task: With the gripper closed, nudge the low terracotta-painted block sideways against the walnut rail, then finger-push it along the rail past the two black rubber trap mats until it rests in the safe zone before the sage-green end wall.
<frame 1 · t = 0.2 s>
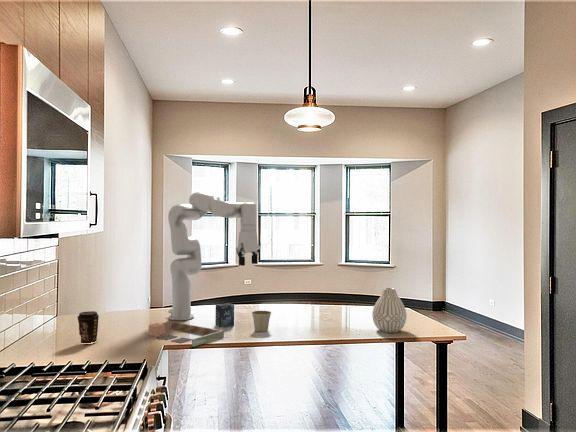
hand: (248, 264, 239), 31 cm above the worktop, fingers open, 9 cm apart
trap mats: (181, 336, 226), on the worktop
shallow rectangular tray: (181, 336, 226), on the worktop
block: (156, 334, 230), on the worktop
vase: (389, 331, 239), on the worktop
coffee cup: (88, 343, 214), on the worktop
box: (224, 326, 248), on the worktop
flower pot: (261, 331, 238), on the worktop
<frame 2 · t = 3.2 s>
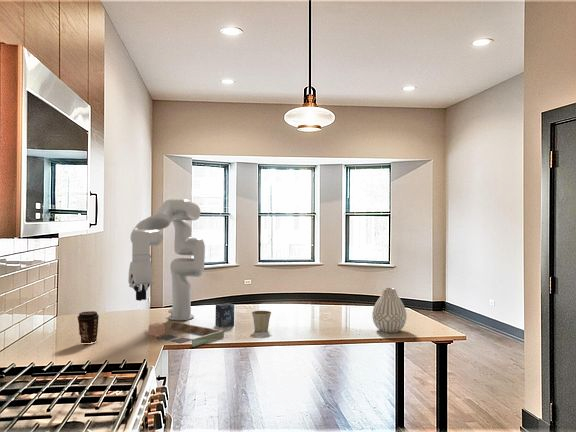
hand: (141, 299, 223), 17 cm above the worktop, fingers closed
nothing on the worktop moved.
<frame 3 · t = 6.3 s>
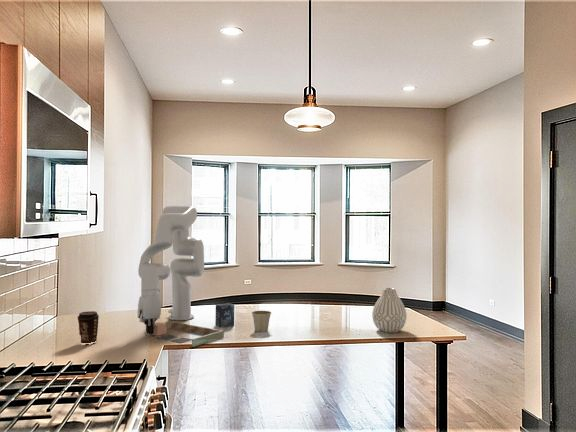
hand: (149, 333, 227), 1 cm above the worktop, fingers closed
block: (158, 333, 231), on the worktop, touching gripper
everything else where it was.
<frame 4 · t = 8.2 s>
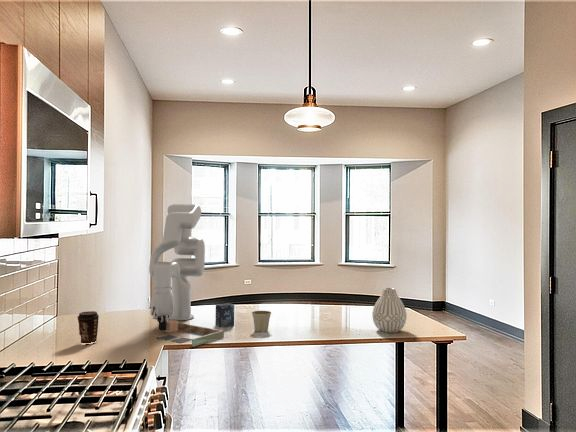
hand: (162, 330, 233), 1 cm above the worktop, fingers closed
block: (170, 330, 237), on the worktop, touching gripper
everything else where it was.
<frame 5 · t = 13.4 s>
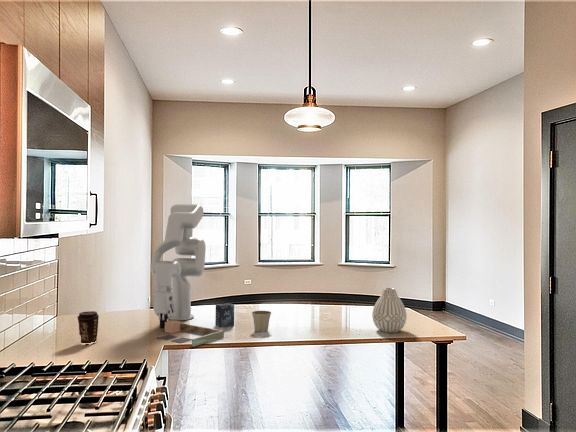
hand: (163, 327, 238), 1 cm above the worktop, fingers closed
block: (172, 331, 236), on the worktop, touching gripper
everything else where it was.
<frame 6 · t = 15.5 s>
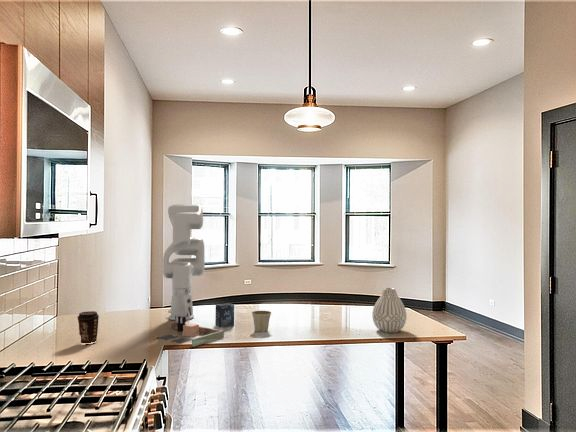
hand: (181, 331, 231), 1 cm above the worktop, fingers closed
block: (191, 334, 230), on the worktop, touching gripper
everything else where it was.
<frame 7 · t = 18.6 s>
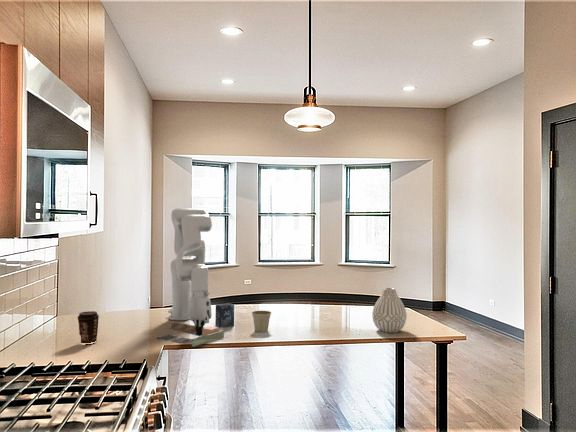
hand: (199, 334, 225), 1 cm above the worktop, fingers closed
block: (210, 338, 224), on the worktop, touching gripper
everything else where it was.
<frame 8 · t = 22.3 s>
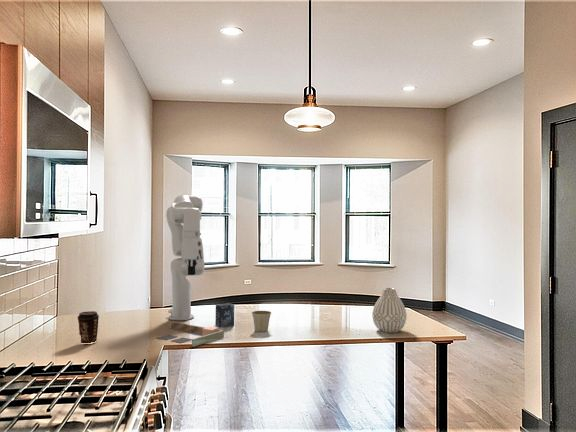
hand: (191, 274, 232), 27 cm above the worktop, fingers closed
block: (210, 338, 224), on the worktop
everything else where it was.
at the end: block inside the target area on the shallow rectangular tray (1.4 cm from its centre), point 0.0 cm above the shallow rectangular tray's base; block touching worktop; block tilted 0° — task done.
